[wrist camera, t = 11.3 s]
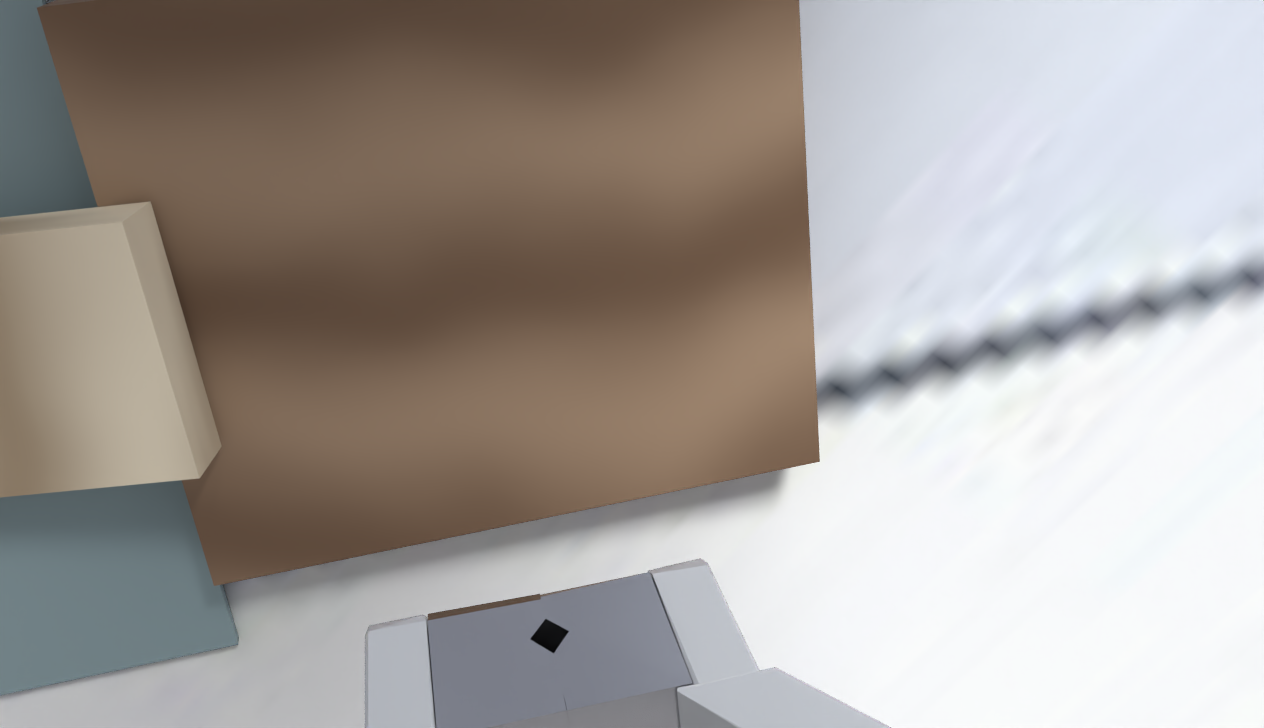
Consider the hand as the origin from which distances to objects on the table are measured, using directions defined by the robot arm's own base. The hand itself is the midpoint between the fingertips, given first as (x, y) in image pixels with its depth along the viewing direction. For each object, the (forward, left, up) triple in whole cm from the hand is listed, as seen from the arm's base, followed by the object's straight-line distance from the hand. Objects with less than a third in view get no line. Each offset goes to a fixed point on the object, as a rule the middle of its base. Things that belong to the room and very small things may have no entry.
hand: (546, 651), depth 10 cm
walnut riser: (+2, +1, -20) cm, 20 cm away
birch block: (+2, -10, -18) cm, 21 cm away
